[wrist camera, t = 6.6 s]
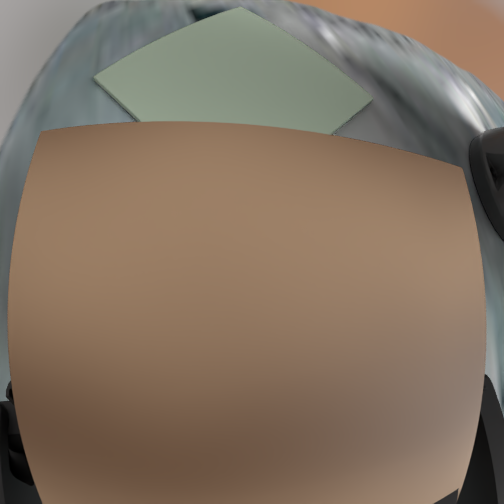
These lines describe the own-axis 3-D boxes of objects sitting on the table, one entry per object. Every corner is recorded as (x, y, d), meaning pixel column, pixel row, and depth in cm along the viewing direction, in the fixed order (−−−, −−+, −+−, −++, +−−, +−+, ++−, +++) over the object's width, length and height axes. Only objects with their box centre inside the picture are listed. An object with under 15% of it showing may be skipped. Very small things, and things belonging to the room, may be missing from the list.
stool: (145, 258, 17) (40, 131, 4) (303, 261, 19) (462, 167, 6) (148, 416, 15) (75, 567, 2) (305, 411, 17) (452, 514, 4)
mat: (239, 10, 24) (240, 6, 24) (371, 101, 24) (373, 98, 23) (94, 81, 19) (93, 76, 19) (237, 217, 19) (238, 214, 18)
